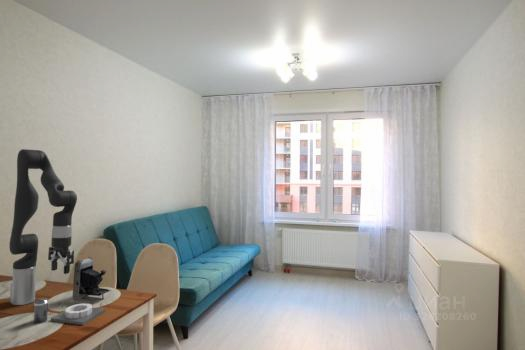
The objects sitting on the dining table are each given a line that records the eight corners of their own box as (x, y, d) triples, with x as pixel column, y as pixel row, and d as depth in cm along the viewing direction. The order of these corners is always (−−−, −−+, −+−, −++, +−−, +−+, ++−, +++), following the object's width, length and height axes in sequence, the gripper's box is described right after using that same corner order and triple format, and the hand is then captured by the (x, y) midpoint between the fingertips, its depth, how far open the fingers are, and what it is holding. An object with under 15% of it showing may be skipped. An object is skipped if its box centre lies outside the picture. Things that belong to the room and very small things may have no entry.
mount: (50, 320, 140) (50, 312, 140) (74, 308, 154) (75, 300, 154) (82, 325, 137) (83, 316, 137) (104, 311, 151) (105, 304, 151)
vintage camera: (98, 304, 161) (101, 264, 161) (71, 299, 164) (74, 260, 164) (110, 297, 170) (113, 259, 170) (85, 293, 173) (88, 256, 173)
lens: (30, 322, 138) (31, 301, 138) (40, 317, 143) (41, 297, 143) (40, 324, 137) (41, 302, 137) (50, 319, 142) (51, 298, 142)
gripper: (43, 234, 143) (41, 271, 143) (63, 238, 137) (62, 276, 137) (59, 232, 150) (58, 267, 150) (80, 236, 144) (78, 272, 144)
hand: (60, 271), depth 144 cm, fingers open, 8 cm apart
